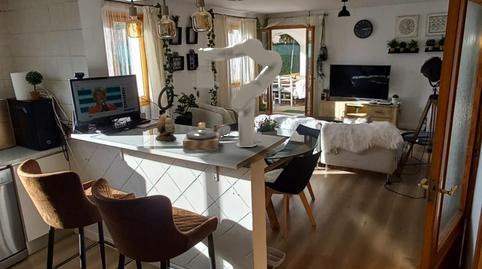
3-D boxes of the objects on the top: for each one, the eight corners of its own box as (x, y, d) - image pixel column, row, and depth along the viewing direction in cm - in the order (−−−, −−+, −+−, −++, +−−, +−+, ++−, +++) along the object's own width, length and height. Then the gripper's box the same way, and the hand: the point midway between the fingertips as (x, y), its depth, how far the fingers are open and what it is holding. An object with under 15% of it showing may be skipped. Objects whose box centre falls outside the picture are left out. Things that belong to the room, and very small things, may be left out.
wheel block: (218, 142, 220) (218, 132, 219) (217, 150, 201) (217, 140, 200) (187, 142, 220) (186, 133, 219) (183, 151, 200) (182, 140, 199)
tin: (228, 134, 241) (227, 122, 239) (231, 135, 239) (231, 123, 237) (213, 139, 229) (212, 126, 228) (216, 139, 227) (216, 127, 226)
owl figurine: (182, 139, 228) (180, 114, 225) (167, 143, 220) (165, 116, 216) (166, 135, 240) (164, 111, 237) (151, 139, 232) (149, 113, 228)
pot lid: (216, 138, 201) (215, 127, 199) (184, 139, 200) (184, 128, 198) (216, 132, 218) (216, 122, 217) (187, 133, 217) (187, 122, 216)
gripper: (190, 69, 208) (191, 98, 212) (219, 69, 209) (220, 97, 212) (191, 69, 216) (193, 97, 219) (219, 69, 216) (220, 96, 220)
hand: (206, 97), depth 216 cm, fingers open, 9 cm apart
